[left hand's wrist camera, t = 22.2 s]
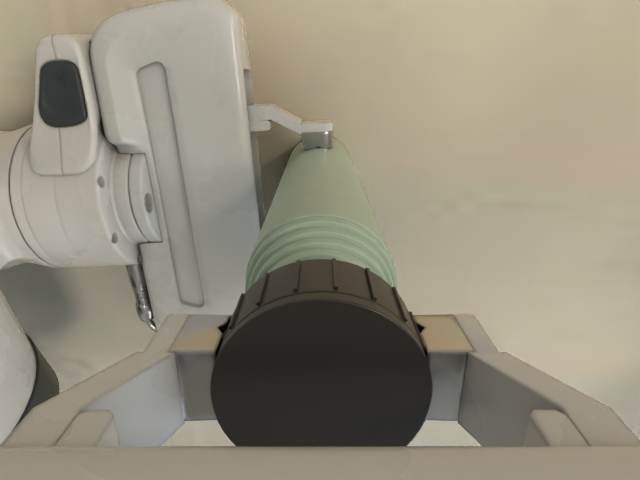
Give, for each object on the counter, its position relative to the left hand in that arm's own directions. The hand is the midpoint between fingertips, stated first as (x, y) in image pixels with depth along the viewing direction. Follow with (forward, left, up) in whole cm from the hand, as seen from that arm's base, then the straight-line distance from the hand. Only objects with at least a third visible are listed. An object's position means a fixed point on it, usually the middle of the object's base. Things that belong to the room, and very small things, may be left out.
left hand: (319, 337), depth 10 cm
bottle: (0, 0, -22) cm, 22 cm away
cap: (0, 0, +2) cm, 2 cm away
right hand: (0, +1, -16) cm, 16 cm away
